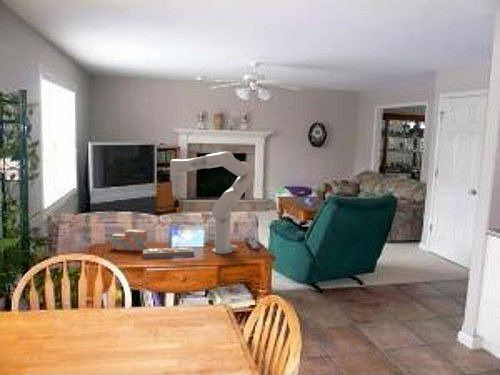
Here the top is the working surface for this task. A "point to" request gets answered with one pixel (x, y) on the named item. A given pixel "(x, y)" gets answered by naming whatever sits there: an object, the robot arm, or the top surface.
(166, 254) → the tile panel
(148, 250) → the tile one
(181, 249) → the tile two
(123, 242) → the stack of blocks
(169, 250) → the tile three
